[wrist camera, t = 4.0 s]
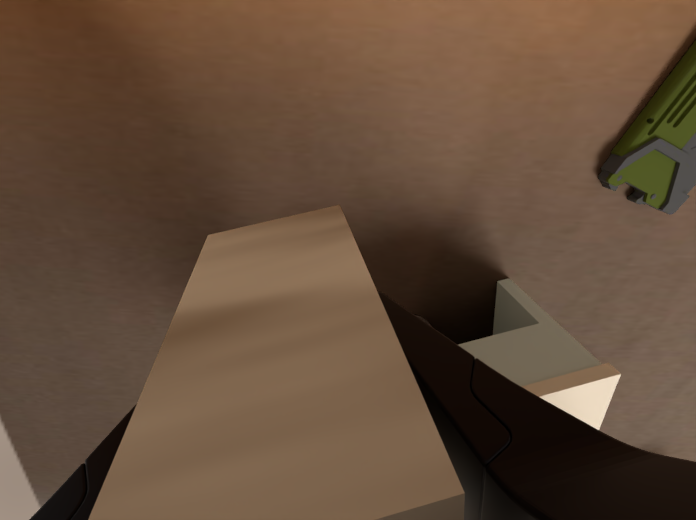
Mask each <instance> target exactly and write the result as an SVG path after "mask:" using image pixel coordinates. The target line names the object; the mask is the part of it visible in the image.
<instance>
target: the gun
mask: <svg viewBox="0 0 696 520" xmlns="http://www.w3.org/2000/svg"><path fill="white" fill-rule="evenodd" d="M611 153H612V154H611V155H610V157H609V158H608V159H607V161H606V162H605V163H604V165H603V166H602V167H601V170H602V171H601V173H600V174H599V176H598V179H599V180H601V183H602V186H604V187H606V188H608V189H611V190H613V191H616V190H617V188H618V186H619V185H620V184H622V183H627V184H629V186H632V187H633V188H634V189H635V191H634V193H633V194H632V195H630V196H628V198H627V199H628V200H630V201H633V202H635V203H637V204H647V205H649V206H651V207H653V208H655V209H658V210H660V211H663V212H665V213H668V214H673V213H674V212H676V211H677V210H678V208H679V207H680V206H681V205H682V204H683V203H684V202H685V201H686V200H687V199H688V198H689V195H687V193H688V192H689V191H690V190H691V189H692V188H693V187H694V186H695V185H696V40H695V41H694V43H693V44H692V45H691V47H690V48H689V49H688V51H687V52H686V53H685V55H684V56H683V57H682V59H681V60H680V61H679V63H678V64H677V65H676V66H675V68H674V69H673V70H672V72H671V73H670V74H669V76H668V77H667V78H666V80H665V81H664V82H663V84H662V85H661V86H660V88H659V89H658V90H657V92H656V93H655V94H654V96H653V97H652V98H651V100H650V101H649V102H648V104H647V105H646V106H645V108H644V109H643V110H642V112H641V113H640V114H639V115H638V117H637V118H636V119H635V121H634V122H633V123H632V125H631V126H630V127H629V129H628V130H627V131H626V133H625V134H624V135H623V137H622V138H621V139H620V141H619V142H618V143H617V145H616V146H615V147H614V149H613V150H612V151H611Z"/></svg>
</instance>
